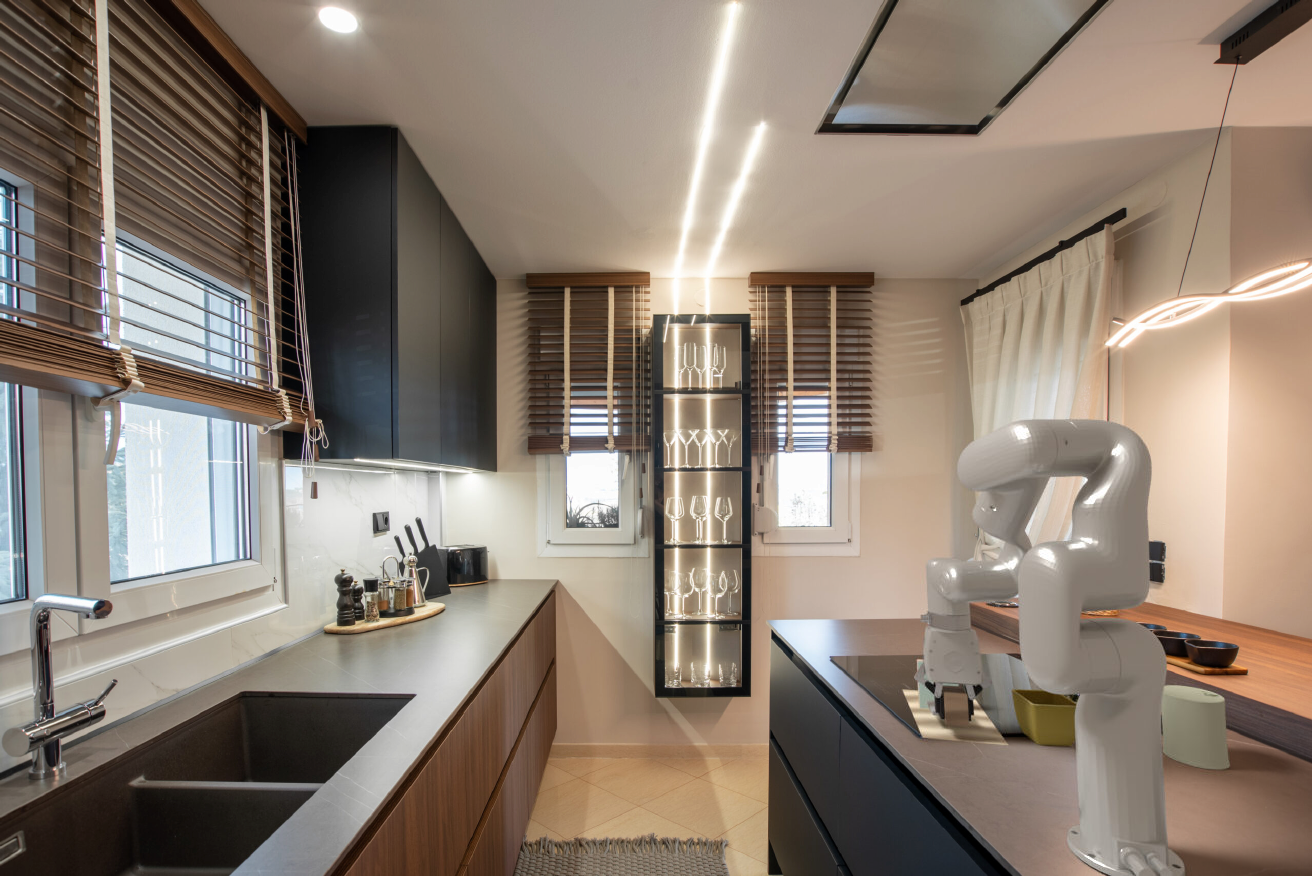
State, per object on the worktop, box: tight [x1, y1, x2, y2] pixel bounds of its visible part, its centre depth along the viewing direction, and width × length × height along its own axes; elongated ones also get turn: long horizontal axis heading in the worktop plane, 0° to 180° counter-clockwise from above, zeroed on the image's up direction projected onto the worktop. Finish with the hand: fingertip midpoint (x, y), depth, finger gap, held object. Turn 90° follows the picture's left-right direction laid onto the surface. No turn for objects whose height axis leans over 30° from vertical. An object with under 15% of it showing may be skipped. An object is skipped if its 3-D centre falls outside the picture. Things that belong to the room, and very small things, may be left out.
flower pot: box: [1011, 688, 1077, 747], centre depth 118 cm, size 9×9×9 cm
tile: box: [916, 658, 960, 709], centre depth 134 cm, size 2×8×10 cm, turn 76°
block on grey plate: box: [927, 685, 969, 727], centre depth 123 cm, size 12×7×6 cm, turn 166°
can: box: [1161, 684, 1231, 771], centre depth 112 cm, size 9×9×12 cm
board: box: [901, 688, 1009, 746], centre depth 130 cm, size 28×15×1 cm, turn 166°
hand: (954, 716), depth 120 cm, fingers closed on block on grey plate, 4 cm apart
